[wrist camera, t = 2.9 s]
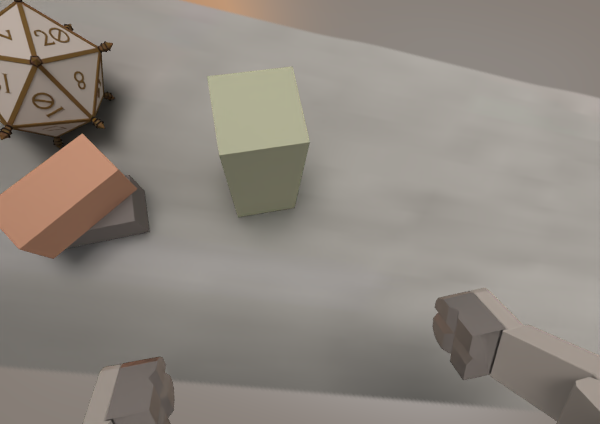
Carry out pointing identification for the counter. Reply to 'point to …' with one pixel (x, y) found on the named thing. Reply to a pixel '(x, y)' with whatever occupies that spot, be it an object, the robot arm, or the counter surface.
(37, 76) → the game die
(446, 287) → the counter surface
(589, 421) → the robot arm
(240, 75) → the green block
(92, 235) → the charcoal brick
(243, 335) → the counter surface
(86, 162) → the terracotta brick
